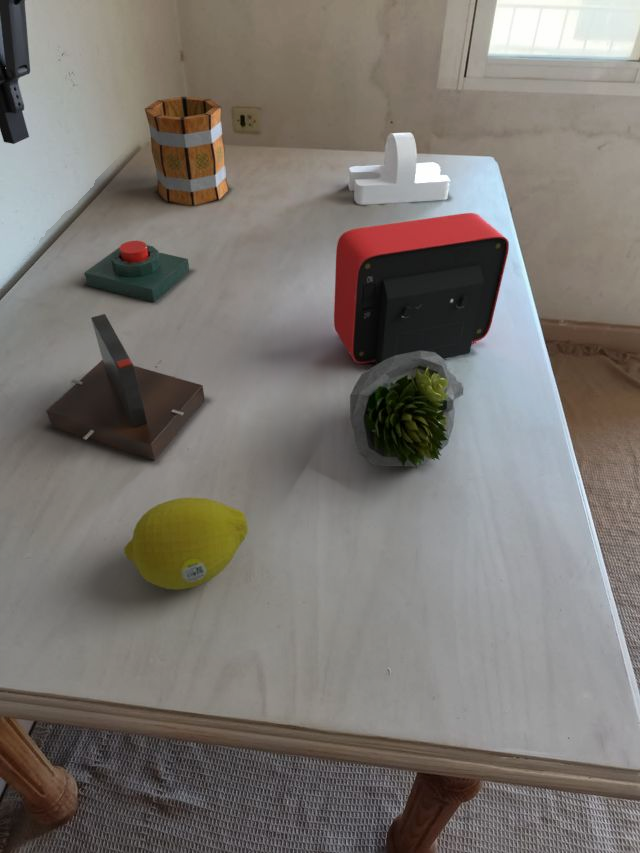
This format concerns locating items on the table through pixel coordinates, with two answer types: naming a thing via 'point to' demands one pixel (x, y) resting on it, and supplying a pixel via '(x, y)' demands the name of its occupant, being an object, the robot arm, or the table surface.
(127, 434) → the dial panel
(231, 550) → the lemon
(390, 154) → the white caddy with handle
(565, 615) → the table surface
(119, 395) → the dark grey slab
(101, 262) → the button block
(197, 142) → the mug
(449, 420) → the potted plant
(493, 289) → the alarm clock
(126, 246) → the button
